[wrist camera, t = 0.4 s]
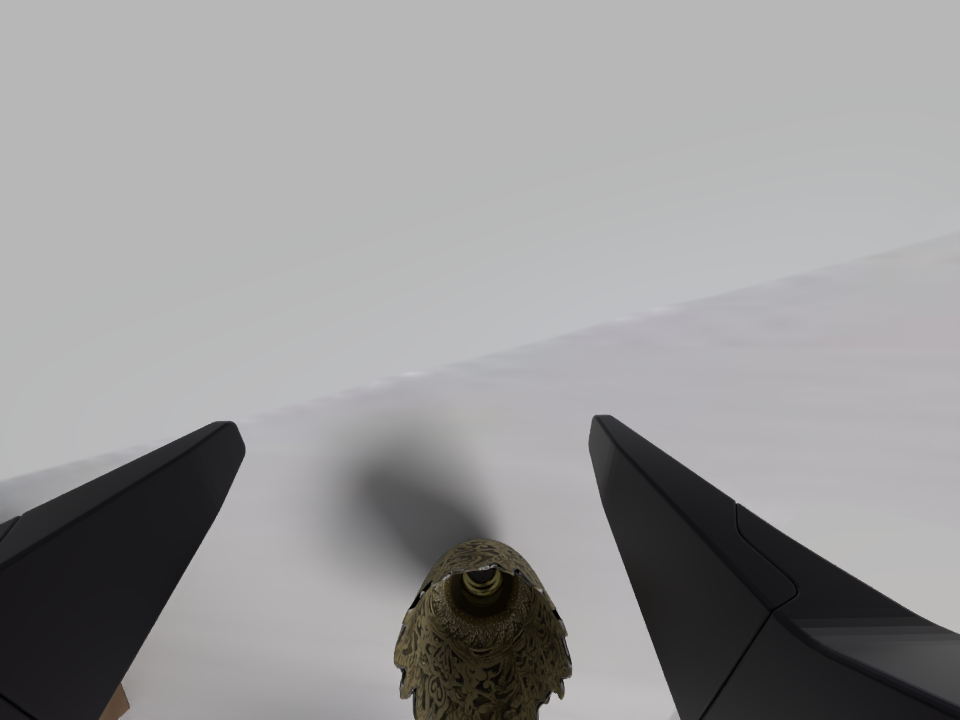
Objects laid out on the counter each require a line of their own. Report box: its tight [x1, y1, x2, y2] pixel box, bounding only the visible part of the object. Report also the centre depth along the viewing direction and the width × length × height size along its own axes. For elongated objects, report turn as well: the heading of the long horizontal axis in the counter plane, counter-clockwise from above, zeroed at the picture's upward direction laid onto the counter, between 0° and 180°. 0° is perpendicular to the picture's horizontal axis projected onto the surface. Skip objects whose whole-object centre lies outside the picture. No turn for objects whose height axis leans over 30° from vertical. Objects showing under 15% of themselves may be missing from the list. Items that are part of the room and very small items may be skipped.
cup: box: [394, 539, 572, 720], centre depth 19 cm, size 8×7×8 cm
